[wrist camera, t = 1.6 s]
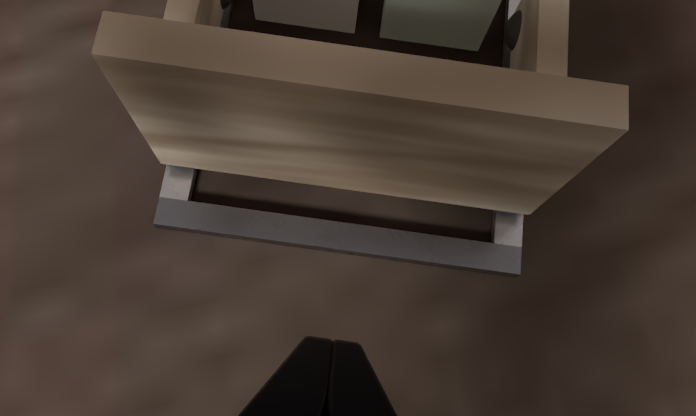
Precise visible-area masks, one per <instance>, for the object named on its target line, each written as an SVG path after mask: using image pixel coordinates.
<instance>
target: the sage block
mask: <svg viewBox="0 0 696 416" xmlns="http://www.w3.org/2000/svg"><path fill="white" fill-rule="evenodd" d="M501 1H502V0H384V5H383V12H382V20H381V28H380V35H379V37H380V38H387V39H394V40H401V41H408V42H415V43H422V44H429V45H436V46H443V47H450V48H457V49H464V50H471V51H478V50H479V48H480V46H481V43H482V41H483V39H484V37H485V35H486V33H487V31H488V29H489V27H490V24H491V22H492V20H493V18H494V16H495V14H496V12H497V10H498V7H499V5H500V3H501Z"/></svg>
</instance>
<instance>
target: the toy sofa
mask: <svg viewBox="0 0 696 416" xmlns="http://www.w3.org/2000/svg"><path fill="white" fill-rule="evenodd" d="M232 1H233V0H168V1H167V5H166V9H165V13H164V17H163V19H159V18H152V17H145V16H138V15H131V14H124V13H117V12H110V11H103V13H102V16H101V20H100V23H99V27H98V30H97V34H96V37H95V41H94V44H93V48H92V52H91V55H92V56H93V58H94V59H95V61H96V63H97V64H98V66H99V67H100V69H101V70H102V72H103V73H104V75H105V77H106V78H107V80H108V81H109V83H110V84H111V86H112V88H113V89H114V91H115V92H116V94H117V95H118V97H119V99H120V100H121V102H122V103H123V105H124V106H125V108H126V110H127V111H128V113H129V114H130V116H131V117H132V119H133V121H134V122H135V124H136V125H137V127H138V128H139V130H140V131H141V133H142V135H143V136H144V138H145V139H146V141H147V142H148V144H149V146H150V147H151V149H152V150H153V152H154V153H155V155H156V157H157V158H158V160H159V161H160V163H161V164H168V165H175V166H182V167H189V168H196V169H204V170H211V171H218V172H225V173H232V174H239V175H247V176H254V177H261V178H268V179H275V180H282V181H290V182H297V183H304V184H311V185H318V186H325V187H333V188H340V189H347V190H354V191H361V192H368V193H376V194H383V195H390V196H397V197H404V198H412V199H419V200H426V201H433V202H440V203H447V204H455V205H462V206H469V207H476V208H483V209H490V210H498V211H505V212H512V213H519V214H526V215H530V214H531V213H532V212H533V211H535V210H536V209H537V208H538V207H539V206H541V205H542V204H543V203H544V202H545V201H546V200H548V199H549V198H550V197H551V196H552V195H553V194H555V193H556V192H557V191H558V190H559V189H560V188H562V187H563V186H564V185H565V184H566V183H567V182H569V181H570V180H571V179H572V178H573V177H574V176H576V175H577V174H578V173H579V172H580V171H581V170H583V169H584V168H585V167H586V166H587V165H588V164H590V163H591V162H592V161H593V160H594V159H595V158H597V157H598V156H599V155H600V154H601V153H602V152H604V151H605V150H606V149H607V148H608V147H609V146H611V145H612V144H613V143H614V142H615V141H616V140H618V139H619V138H620V137H621V136H622V135H623V134H625V133H626V132H627V131H628V130H629V86H628V85H621V84H614V83H607V82H600V81H593V80H586V79H579V78H572V77H567V66H568V31H569V0H521V1H520V3H519V5H518V7H517V9H516V10H515V12H514V14H513V15H512V16H511V17H510V18H509V20H508V21H507V23H506V26H505V29H504V39H505V42H506V45H507V46H508V48H509V49H510V50H511V55H510V69H509V68H502V67H495V66H488V65H481V64H474V63H467V62H460V61H453V60H446V59H439V58H432V57H425V56H418V55H411V54H404V53H397V52H390V51H383V50H376V49H369V48H362V47H355V46H348V45H341V44H334V43H327V42H320V41H313V40H306V39H299V38H292V37H285V36H278V35H271V34H264V33H257V32H250V31H243V30H236V29H229V28H222V27H220V25H221V20H222V16H223V11H224V9H225V8H227V7H228V6H229V5H230V4H231V3H232Z"/></svg>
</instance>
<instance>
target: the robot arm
mask: <svg viewBox="0 0 696 416" xmlns="http://www.w3.org/2000/svg"><path fill="white" fill-rule="evenodd" d="M238 416H397V415H396V413H395V411H394V409H393V407H392V405H391V403H390V401H389V399H388V397H387V395H386V393H385V391H384V389H383V387H382V385H381V383H380V382H379V380H378V378H377V376H376V374H375V372H374V370H373V368H372V366H371V364H370V362H369V360H368V358H367V356H366V354H365V352H364V350H363V348H362V347H361V345H360V344H359V343H356V342H350V341H343V340H334V341H332V340H331V339H328V338H321V337H313V336H307V337H305V338H304V339H303V340H302V341H301V342H300V343H299V344H298V346H297V347H296V348H295V349H294V350H293V351H292V353H291V354H290V355H289V356H288V357H287V359H286V360H285V361H284V362H283V363H282V364H281V366H280V367H279V368H278V369H277V370H276V372H275V373H274V374H273V375H272V376H271V377H270V379H269V380H268V381H267V382H266V383H265V385H264V386H263V387H262V388H261V389H260V391H259V392H258V393H257V394H256V395H255V396H254V398H253V399H252V400H251V401H250V402H249V404H248V405H247V406H246V407H245V408H244V409H243V411H242V412H241V413H240V414H239V415H238Z"/></svg>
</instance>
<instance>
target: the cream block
mask: <svg viewBox="0 0 696 416" xmlns="http://www.w3.org/2000/svg"><path fill="white" fill-rule="evenodd" d="M252 1H253V7H254V14H255V20H261V21H268V22H276V23H283V24H290V25H297V26H304V27H311V28H318V29H325V30H332V31H339V32H347V33H354V34H355V26H356V19H357V12H358V5H359V0H252Z"/></svg>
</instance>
